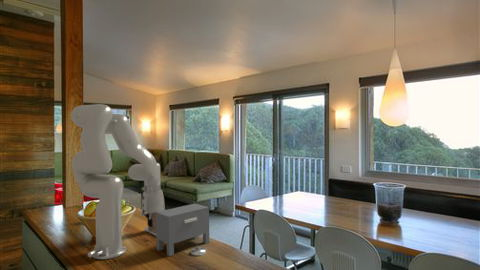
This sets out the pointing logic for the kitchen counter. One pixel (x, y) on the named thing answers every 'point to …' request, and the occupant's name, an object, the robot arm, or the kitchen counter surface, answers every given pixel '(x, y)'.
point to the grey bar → (153, 225)
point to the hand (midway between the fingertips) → (153, 225)
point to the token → (198, 251)
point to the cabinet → (181, 225)
